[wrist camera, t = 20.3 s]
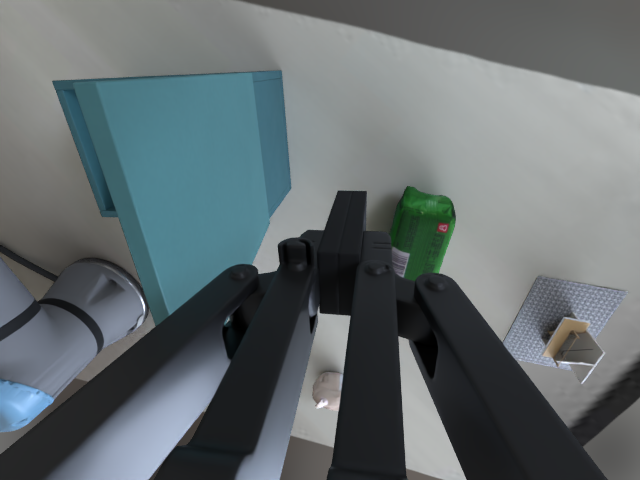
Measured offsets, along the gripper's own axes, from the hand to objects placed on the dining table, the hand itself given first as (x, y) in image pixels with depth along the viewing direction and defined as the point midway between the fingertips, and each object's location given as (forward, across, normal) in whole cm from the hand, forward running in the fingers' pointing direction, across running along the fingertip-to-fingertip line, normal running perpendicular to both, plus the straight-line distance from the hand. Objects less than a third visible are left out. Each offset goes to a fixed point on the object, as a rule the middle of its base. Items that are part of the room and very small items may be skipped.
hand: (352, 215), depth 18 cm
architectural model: (+25, +27, -27) cm, 46 cm away
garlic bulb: (+25, -5, -42) cm, 49 cm away
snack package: (+25, +6, -14) cm, 29 cm away
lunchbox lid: (+3, -9, 0) cm, 10 cm away
